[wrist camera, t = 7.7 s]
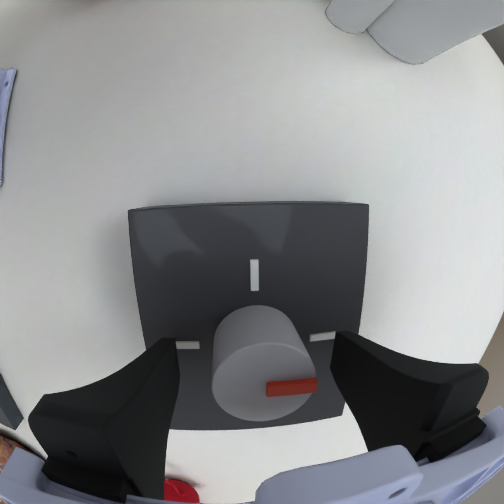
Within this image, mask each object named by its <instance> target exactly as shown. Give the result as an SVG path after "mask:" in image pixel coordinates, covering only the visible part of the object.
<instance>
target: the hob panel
mask: <svg viewBox="0 0 504 504" xmlns="http://www.w3.org/2000/svg"><path fill="white" fill-rule="evenodd" d="M128 222H129V235H130V247H131V257H132V266H133V274H134V282H135V289H136V296H137V302H138V308H139V314H140V320H141V325H142V331H143V336H144V341H145V345H146V350H148V349H149V348H150V347H151V346H152V345H153V344H155V343H156V342H157V341H158V340H159V339H161V338H175V339H176V348H177V355H178V362H179V369H180V383H179V392H178V396H177V400H176V404H175V408H174V412H173V416H172V420H171V424H170V428H169V429H175V430H238V429H254V428H265V427H275V426H284V425H291V424H298V423H305V422H311V421H317V420H322V419H327V418H332V417H337V416H341V415H342V413H343V409H344V405H345V400H344V398H343V396H342V394H341V393H340V391H339V389H338V387H337V385H336V383H335V381H334V378H333V376H332V373H331V370H330V363H331V357H332V351H333V345H334V339H335V332H338V331H350V332H353V333H355V334H358V333H359V326H360V319H361V312H362V303H363V295H364V285H365V274H366V262H367V246H368V224H369V205H368V204H362V203H351V202H324V201H268V202H226V203H201V204H181V205H165V206H150V207H142V208H136V209H130V210H128ZM252 305H263V306H269V307H272V308H275V309H277V310H279V311H281V312H283V313H284V314H285V315H286V316H287V317H288V318H289V319H290V320H291V322H292V323H293V325H294V327H295V329H296V331H297V333H298V335H299V337H300V339H301V341H302V342H303V344H304V346H305V348H306V350H307V352H308V354H309V356H310V358H311V360H312V362H313V364H314V366H315V370H316V379H317V381H318V386H317V391H316V393H312V394H311V395H310V397H309V398H308V399H307V401H306V402H305V403H304V404H303V405H302V406H301V407H299V408H298V409H297V410H295V411H294V412H292V413H290V414H288V415H286V416H283V417H281V418H277V419H274V420H268V421H249V420H244V419H240V418H237V417H235V416H232V415H231V414H229V413H227V412H226V411H224V410H223V409H222V408H221V407H220V406H219V405H218V403H217V402H216V400H215V399H214V396H213V394H212V389H211V378H212V360H213V344H214V336H215V332H216V329H217V328H218V326H219V324H220V323H221V321H222V320H223V319H224V318H225V317H226V316H228V315H229V314H230V313H232V312H234V311H235V310H238V309H240V308H243V307H246V306H252Z"/></svg>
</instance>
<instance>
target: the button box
mask: <svg viewBox="0 0 504 504" xmlns="http://www.w3.org/2000/svg"><path fill="white" fill-rule="evenodd" d="M23 419H24V418H23V416H22V415H21V413H20V411H19V410H18V408H17V406H16V404H15V402H14V401H13V399H12V397H11V395H10V393H9V391H8V389H7V387H6V385H5V383H4V381H3V379H2V377H1V375H0V423H1V424H3V425H5V426H7V427H9V428H12V429H14V430H16V429H17V427H18V426H19V424H20V423H21V422H22V420H23Z"/></svg>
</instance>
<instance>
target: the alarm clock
mask: <svg viewBox="0 0 504 504" xmlns="http://www.w3.org/2000/svg"><path fill="white" fill-rule="evenodd" d="M164 500H165V501H174V502H185V503H199V496H198V493H197V492H196V490H195V489H194V488H193V487H192V486H190V485H189V484H187V483H185V482H182V481H178V480H168V481H167V480H164Z"/></svg>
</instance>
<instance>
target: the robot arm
mask: <svg viewBox="0 0 504 504" xmlns="http://www.w3.org/2000/svg"><path fill="white" fill-rule="evenodd" d="M15 73H16V69H15V68H13V67H12V68H10V69H8V70H6V71H5V70H3V69H1V68H0V186H1V181H2V155H3V142H4V133H5V125H6V117H7V111H8V105H9V100H10V95H11V90H12V86H13V81H14V77H15ZM330 370H331V373H332V376H333V378H334V381H335V383H336V385H337V387H338V389H339V391H340V393H341V394H342V396H343V398H344V400H345V401H346V403H347V405H348V406H349V408H350V410H351V412H352V413H353V415H354V417H355V419H356V421H357V423H358V425H359V428H360V430H361V433H362V435H363V438H364V441H365V443H366V446H367V449H368V452H367V453H364V454H360V455H356V456H353V457H349V458H345V459H341V460H337V461H332V462H328V463H323V464H318V465H312V466H306V467H300V468H297V469H293V470H289V471H285V472H281V473H279V474H277V475H275V476H273V477H271V478H269V479H267V480H265V481H264V482H262V484H261V485H260V486H259V488H258V489H257V491H256V496H255V501H252V502H246V503H240V504H459V503H460V502H461V501H463V500H464V499H466V498H467V497H468V496H470V495H471V494H472V493H473V492H475V491H476V490H477V489H479V488H480V487H481V486H482V485H483V484H485V483H486V482H487V481H488V480H489V479H490V478H492V477H493V476H494V475H495V474H496V473H498V472H499V471H500V470H501V469H502V467H503V466H504V409H502V407H501V406H498V407H496V408H495V409H493V410H492V411H491V412H489V413H488V414H486V415H485V416H484V417H483V418H482V419H480V418H479V417H478V415H479V413H480V410H478V409H477V408H476V406H477V404H478V403H479V401H480V399H481V397H482V395H483V393H484V391H485V388H486V386H487V383H488V379H489V373H488V371H487V370H486V369H485V368H483V367H482V366H481V365H479V364H477V363H474V364H449V363H439V362H432V361H427V360H422V359H417V358H414V357H410V356H407V355H404V354H401V353H398V352H395V351H393V350H390V349H388V348H386V347H383V346H381V345H379V344H377V343H375V342H372V341H370V340H368V339H366V338H364V337H362V336H360V335H358V334H355V333H353V332H350V331H338V332H335V339H334V345H333V351H332V357H331V363H330ZM179 383H180V369H179V362H178V355H177V348H176V339H175V338H161V339H159V340H158V341H157V342H156V343H155V344H153V345H152V346H151V347H150V348H149V349H148V350H146V351H145V352H144V353H143V354H141V355H140V356H139V357H138V358H136V359H135V360H133V361H132V362H131V363H129V364H128V365H126V366H125V367H124V368H122V369H120V370H119V371H117V372H115V373H113V374H112V375H110V376H108V377H106V378H104V379H101V380H99V381H96V382H94V383H92V384H89V385H86V386H83V387H80V388H77V389H73V390H69V391H64V392H58V393H52V394H44V395H43V397H42V398H41V399H40V401H39V402H38V403H37V405H36V406H35V408H34V409H33V410H32V412H31V413H30V415H29V418H28V422H29V426H30V429H31V431H32V432H33V434H34V436H35V437H36V439H37V440H38V442H39V443H40V445H41V446H42V448H43V449H44V451H45V452H46V454H47V455H48V458H47V460H46V462H44V461H43V460H42V459H41V458H39V457H38V456H36V455H34V454H31V453H29V452H27V451H25V450H23V449H21V448H19V447H16V448H15V449H14V451H13V453H12V454H11V456H10V458H9V459H8V461H7V463H6V464H5V466H4V468H3V470H2V471H1V473H0V498H1V499H2V500H4V501H5V502H6V503H7V504H202V503H185V502H174V501H165V500H164V479H165V460H166V449H167V439H168V433H169V428H170V424H171V420H172V416H173V412H174V408H175V404H176V400H177V396H178V392H179Z"/></svg>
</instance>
